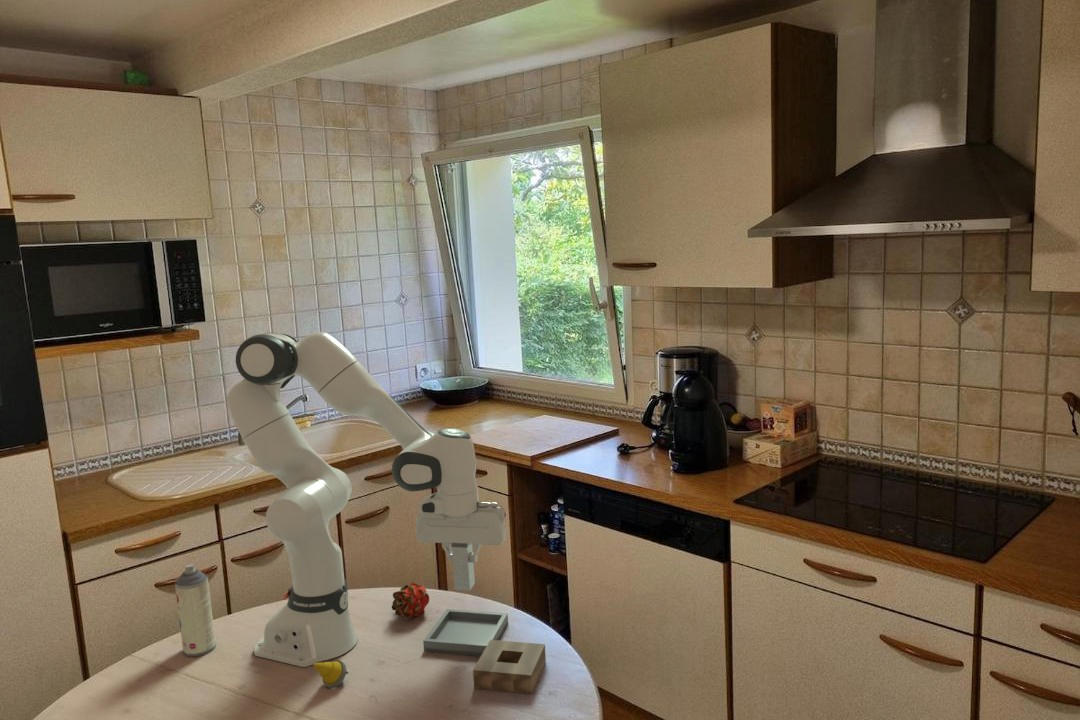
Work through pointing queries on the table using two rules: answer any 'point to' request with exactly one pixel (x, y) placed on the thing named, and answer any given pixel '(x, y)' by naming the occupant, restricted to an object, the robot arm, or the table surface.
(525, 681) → the hitch block
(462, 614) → the tray
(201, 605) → the aerosol can
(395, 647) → the table surface
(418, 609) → the dragon fruit
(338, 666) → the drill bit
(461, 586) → the metal pin
